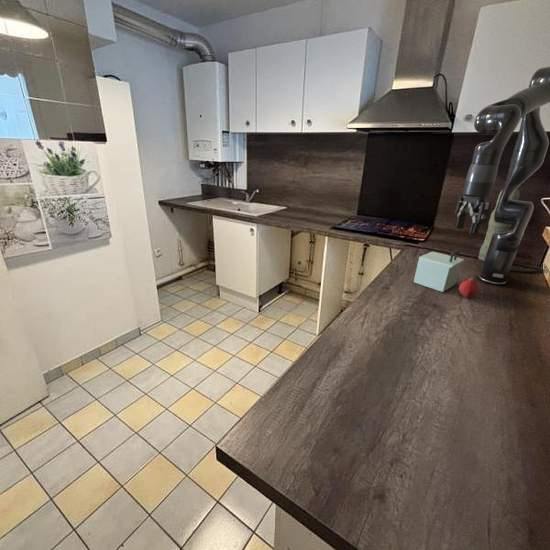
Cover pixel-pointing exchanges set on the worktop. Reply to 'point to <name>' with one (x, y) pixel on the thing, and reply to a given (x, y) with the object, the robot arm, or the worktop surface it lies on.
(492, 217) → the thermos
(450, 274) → the light blue lidded box
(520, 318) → the worktop surface
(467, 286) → the onion
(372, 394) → the worktop surface
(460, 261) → the lid
